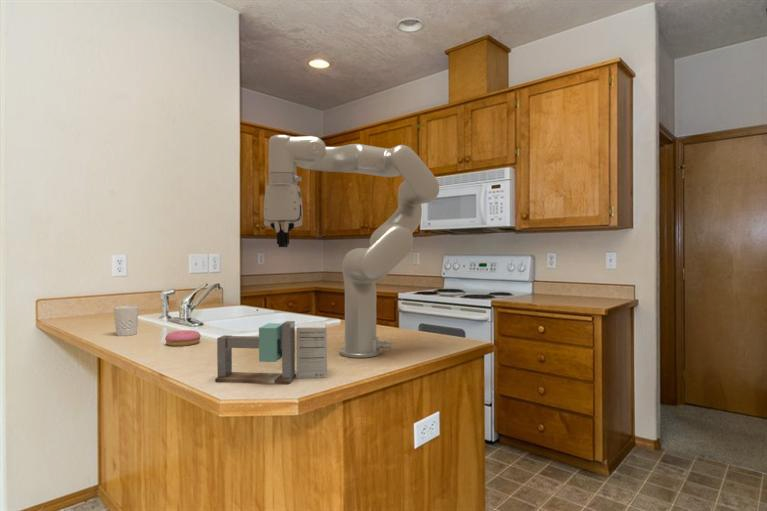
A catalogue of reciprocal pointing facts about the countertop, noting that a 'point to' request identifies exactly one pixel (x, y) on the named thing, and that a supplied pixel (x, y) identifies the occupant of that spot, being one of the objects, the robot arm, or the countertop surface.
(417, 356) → the countertop surface
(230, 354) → the rail
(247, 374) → the board
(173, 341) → the doughnut
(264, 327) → the teal sliding block
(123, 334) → the white cup
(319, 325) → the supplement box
